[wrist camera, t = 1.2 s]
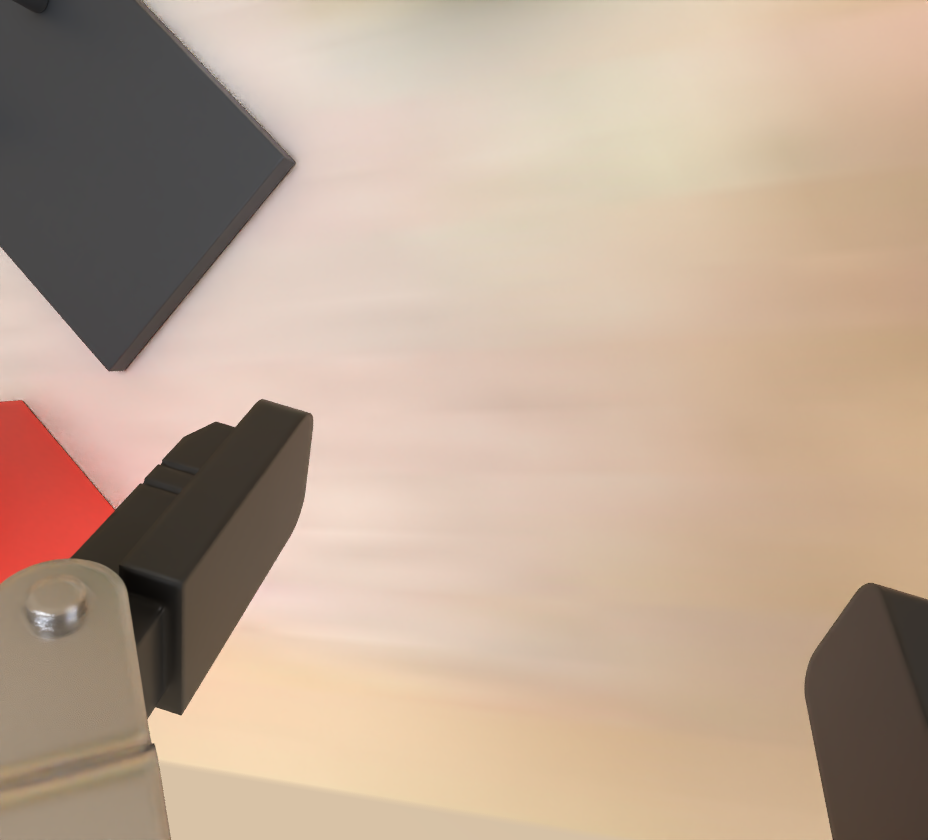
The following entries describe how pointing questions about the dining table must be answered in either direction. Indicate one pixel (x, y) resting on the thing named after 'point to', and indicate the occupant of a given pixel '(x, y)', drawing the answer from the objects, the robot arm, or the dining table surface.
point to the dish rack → (119, 166)
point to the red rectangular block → (41, 495)
